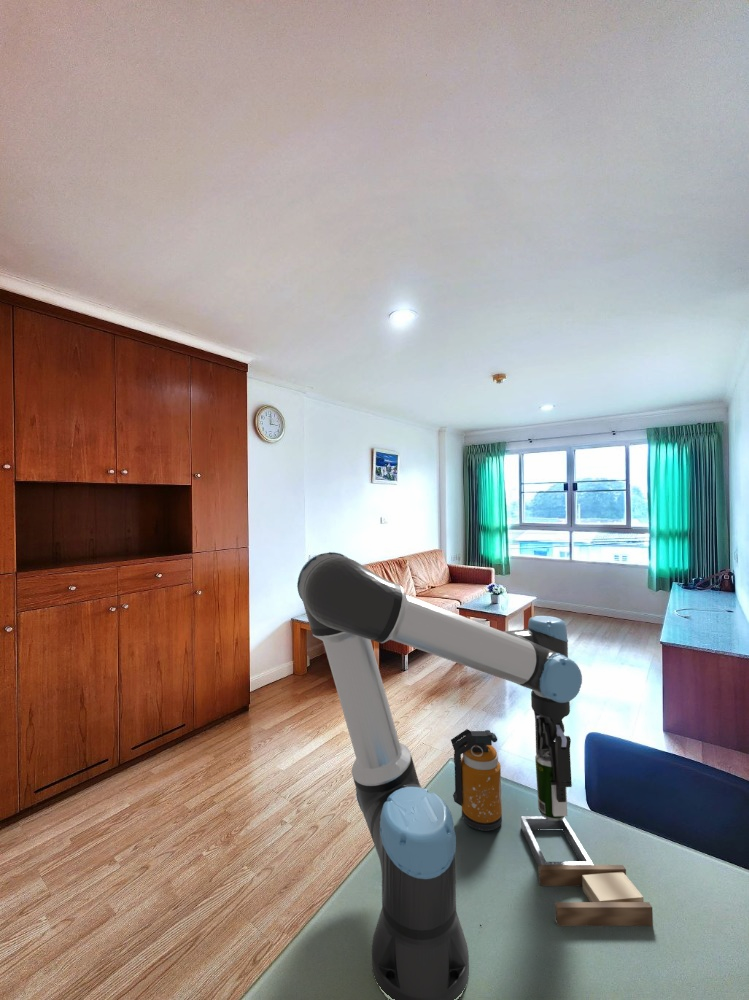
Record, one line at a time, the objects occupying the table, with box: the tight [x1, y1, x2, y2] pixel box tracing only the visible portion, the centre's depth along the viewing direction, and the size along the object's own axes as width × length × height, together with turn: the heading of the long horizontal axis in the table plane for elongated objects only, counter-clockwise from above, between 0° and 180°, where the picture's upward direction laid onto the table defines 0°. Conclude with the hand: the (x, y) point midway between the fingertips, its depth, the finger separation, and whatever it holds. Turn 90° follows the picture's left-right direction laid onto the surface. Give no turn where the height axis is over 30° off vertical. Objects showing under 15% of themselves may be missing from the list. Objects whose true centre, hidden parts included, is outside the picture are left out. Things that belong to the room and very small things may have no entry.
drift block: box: [582, 872, 645, 902], centre depth 79 cm, size 8×6×3 cm
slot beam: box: [537, 864, 654, 927], centre depth 78 cm, size 16×9×3 cm, turn 89°
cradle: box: [520, 815, 594, 866], centre depth 90 cm, size 14×10×2 cm
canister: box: [450, 728, 503, 831], centre depth 100 cm, size 9×11×20 cm
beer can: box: [534, 748, 566, 821], centre depth 91 cm, size 5×5×12 cm
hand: (554, 804), depth 91 cm, fingers closed on beer can, 5 cm apart
